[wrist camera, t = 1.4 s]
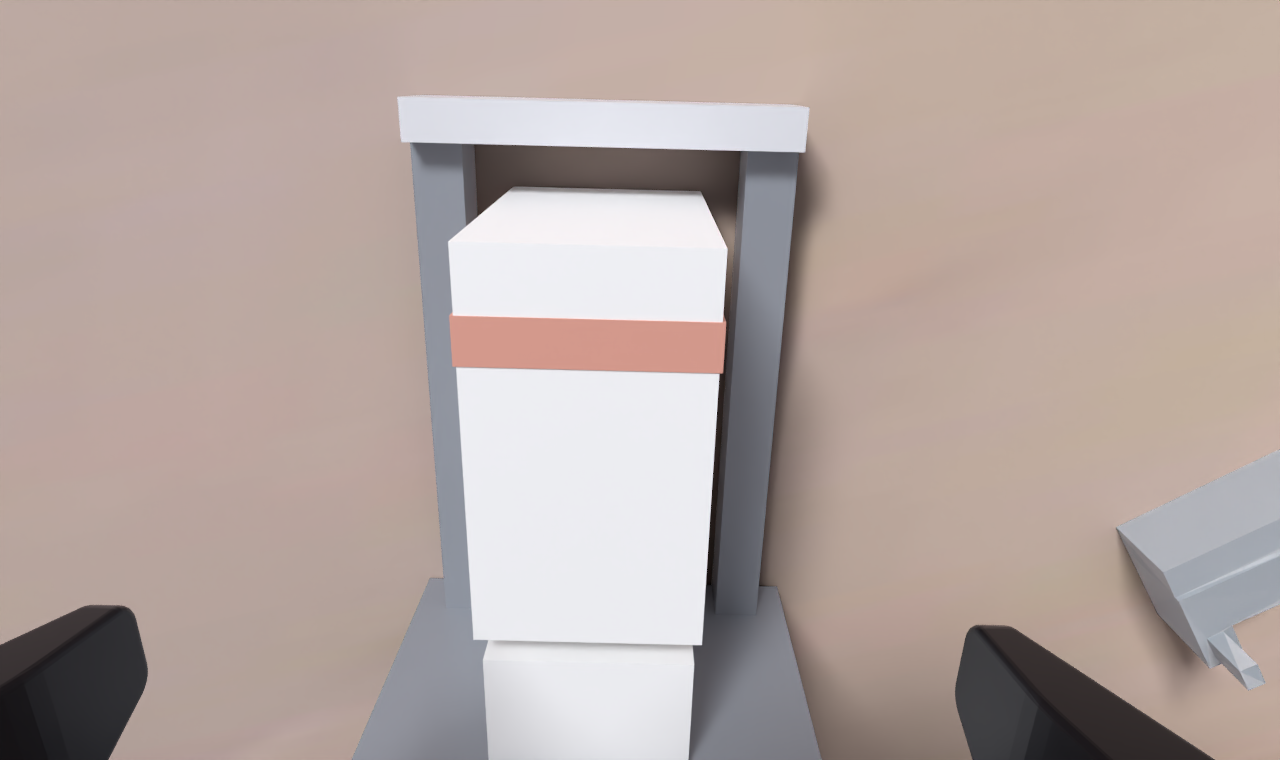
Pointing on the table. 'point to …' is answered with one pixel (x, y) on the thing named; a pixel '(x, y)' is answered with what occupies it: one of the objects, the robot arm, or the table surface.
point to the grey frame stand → (734, 603)
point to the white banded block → (588, 411)
